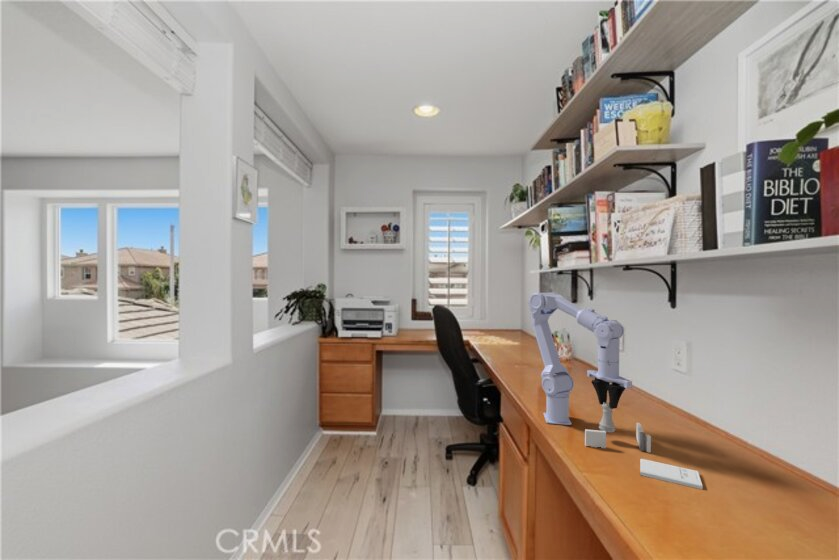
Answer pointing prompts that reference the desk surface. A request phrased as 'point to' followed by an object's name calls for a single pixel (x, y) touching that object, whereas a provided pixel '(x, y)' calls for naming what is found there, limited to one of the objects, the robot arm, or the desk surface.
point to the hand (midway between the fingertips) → (608, 406)
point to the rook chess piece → (607, 419)
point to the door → (640, 436)
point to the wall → (599, 439)
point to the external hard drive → (670, 473)
